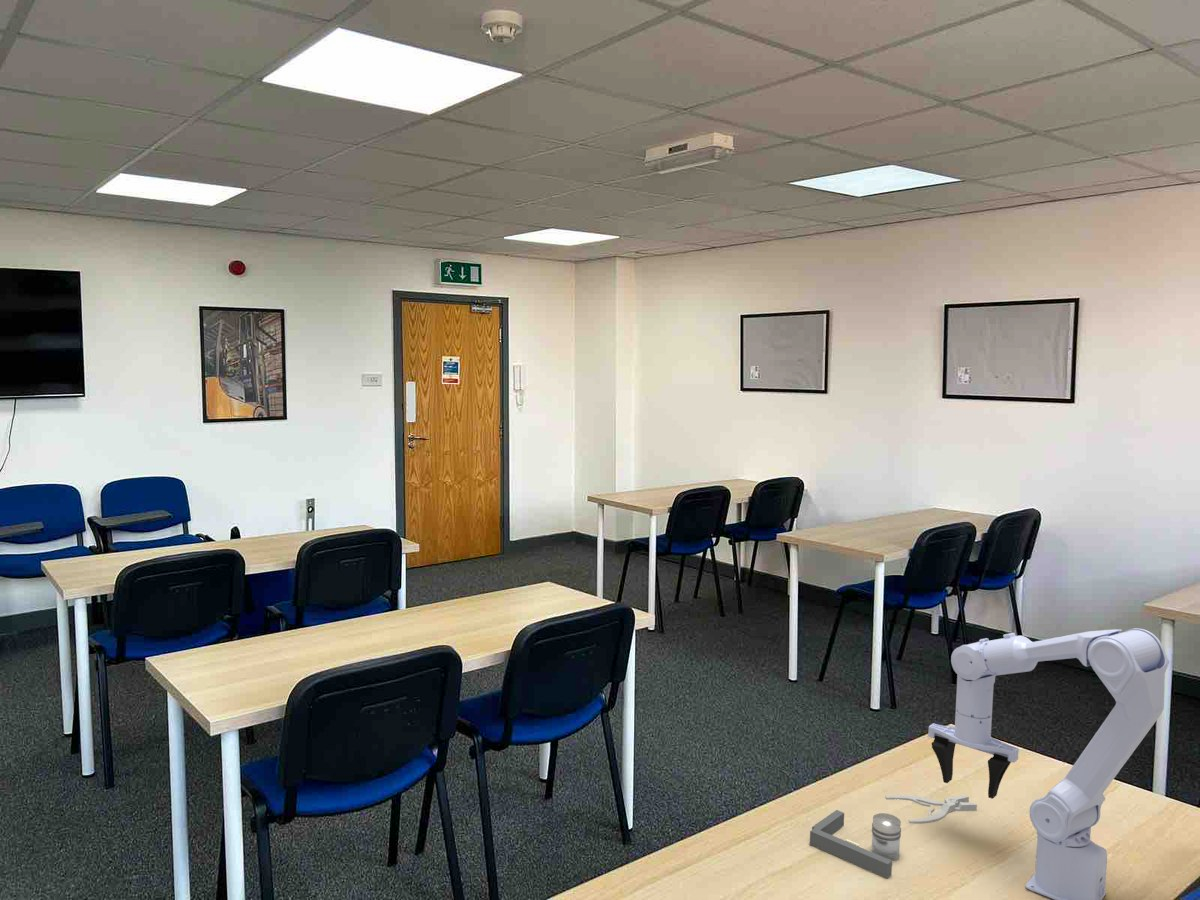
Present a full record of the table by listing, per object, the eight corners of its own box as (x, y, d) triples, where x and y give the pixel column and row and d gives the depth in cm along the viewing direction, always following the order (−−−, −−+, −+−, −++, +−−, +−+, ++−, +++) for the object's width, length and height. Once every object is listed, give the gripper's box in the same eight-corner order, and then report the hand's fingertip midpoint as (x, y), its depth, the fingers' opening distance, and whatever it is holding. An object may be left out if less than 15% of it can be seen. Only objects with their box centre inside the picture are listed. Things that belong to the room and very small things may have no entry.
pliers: (885, 791, 163) (957, 787, 165) (884, 799, 163) (957, 795, 165) (910, 817, 153) (987, 812, 155) (910, 825, 153) (987, 821, 155)
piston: (904, 854, 143) (906, 820, 143) (891, 865, 140) (892, 830, 139) (879, 843, 146) (881, 810, 146) (865, 853, 143) (867, 819, 143)
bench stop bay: (914, 854, 143) (915, 840, 143) (887, 878, 136) (887, 863, 136) (836, 822, 153) (836, 809, 153) (807, 843, 146) (807, 829, 146)
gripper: (1026, 717, 144) (1022, 795, 145) (941, 695, 154) (937, 767, 155) (1011, 729, 139) (1007, 809, 140) (924, 705, 149) (921, 779, 150)
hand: (969, 788), depth 147 cm, fingers open, 7 cm apart
